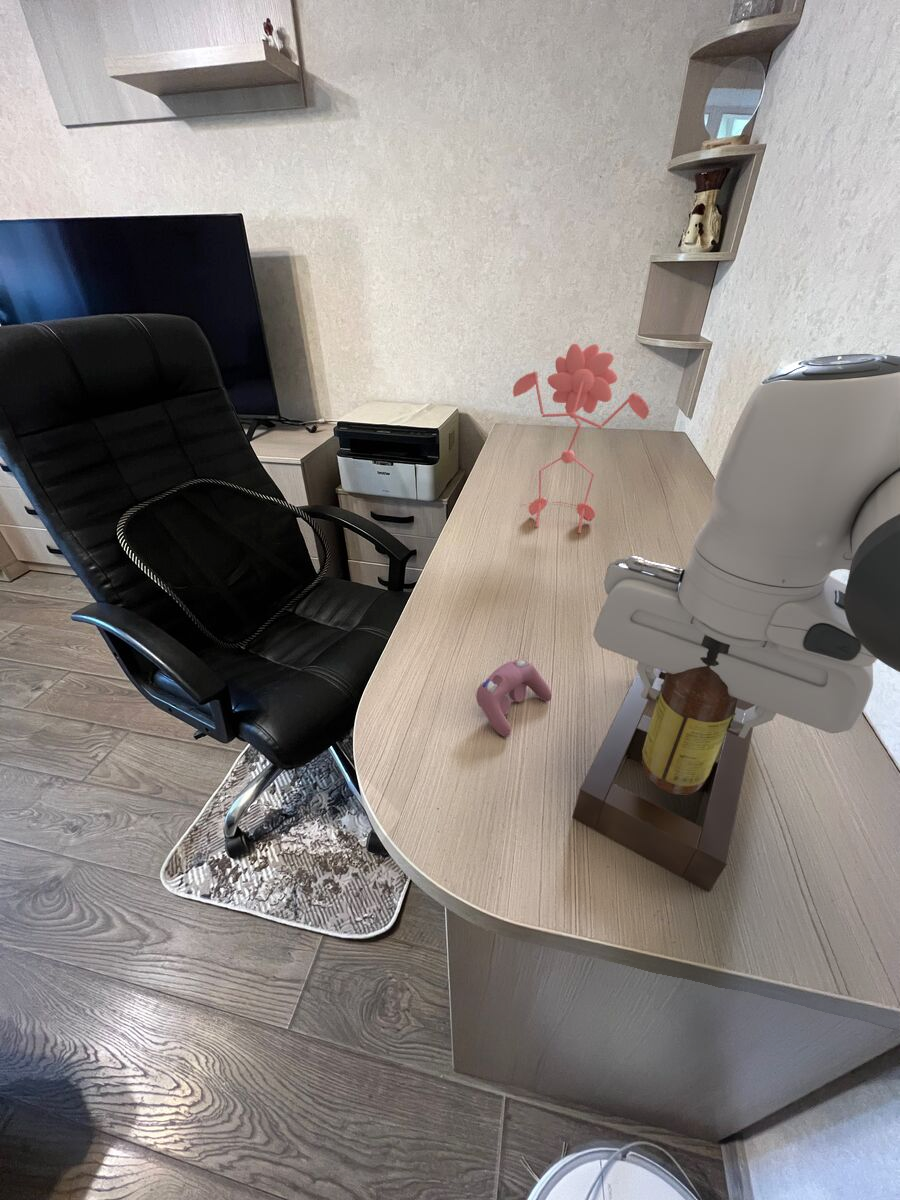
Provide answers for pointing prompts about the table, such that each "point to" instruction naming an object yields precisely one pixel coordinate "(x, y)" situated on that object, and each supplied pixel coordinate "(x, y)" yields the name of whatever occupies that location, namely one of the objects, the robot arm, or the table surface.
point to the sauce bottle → (688, 725)
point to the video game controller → (509, 691)
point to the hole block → (650, 826)
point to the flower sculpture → (578, 403)
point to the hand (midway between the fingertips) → (691, 712)
